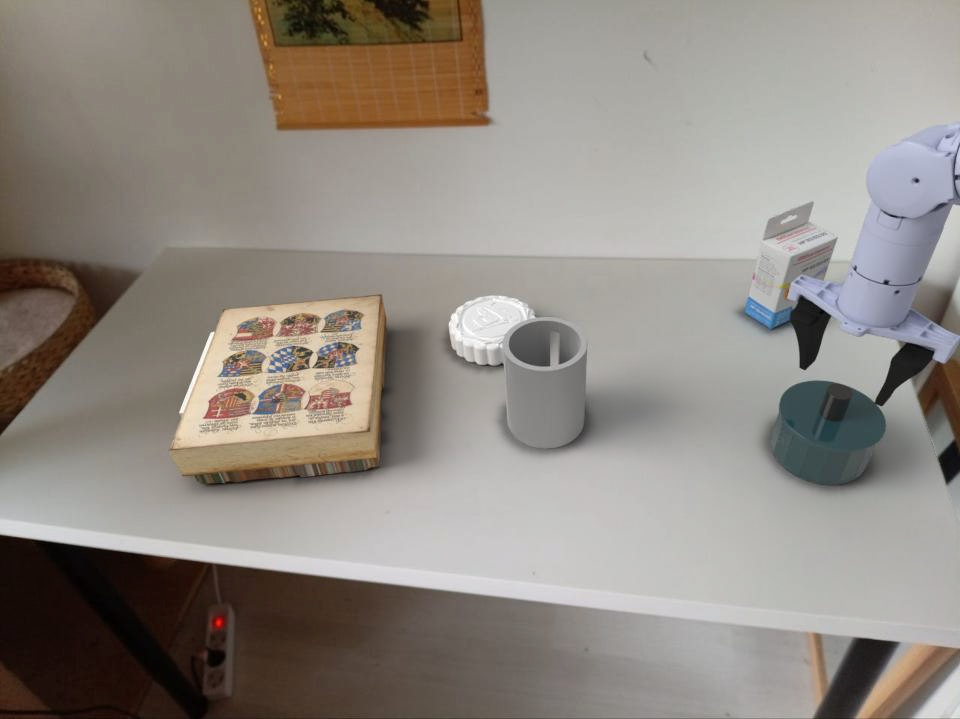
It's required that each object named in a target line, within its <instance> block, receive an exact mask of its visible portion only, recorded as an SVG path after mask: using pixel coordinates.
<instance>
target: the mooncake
mask: <svg viewBox="0 0 960 719" xmlns="http://www.w3.org/2000/svg"><path fill="white" fill-rule="evenodd" d="M535 314H536V313H535V310H534V309H533V308H531V307H530V306H529V305H528V303H526V302H524V301H520V299H518V298H516V297H509V296H507V295H493V294H492V295H485V296H478V297H476V298H475V299H474V300H468V301H466V302H465V303H463V305H460V306H458V307H457V308H456V309H455V312H453V313H452V314H451V315H450V321H449V322H448V332H449V337H450V340H449V341H450V343H451V348H452V350H454V351H456V354H457V356H458V357H459V358H464V359H465V360H466V361H467V362H468V363H476V364H477V365H479V366H486V365H489V366H492V367H497V366H499V365H501V364H503V365H504V360H503V339H504V336H505V334H506V333H507V332H508V330H509V329H510V328H512V327H513V326H515V325H516V324H518V323H520V322H523V321H525V320H528V319H532V318H537V316H536V315H535Z"/></svg>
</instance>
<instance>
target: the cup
mask: <svg viewBox="0 0 960 719" xmlns="http://www.w3.org/2000/svg"><path fill="white" fill-rule="evenodd" d="M551 332H553V333H558V356H557V357H558V359H557V360H558V363H557V365H551ZM587 359H588V339H587V336H586V334H585V333H584V331H583V330H582V329H581V328H580V327H579V326H578V325H576V324H574V323H573V322H571V321H569V320H566V319H562V318H560V317H553V316H552V317H551V316H540V317H536V318H532V319H528V320H525V321H523V322H520V323H518V324H516V325H515V326H513V327H512V328H510V329H509V330H508V332H507V333H506V334H505V336H504V339H503V360H504V364H503V373H504V388H505V405H506V419H507V420H506V421H507V427H508V430H509V431H510V433H511V435H512V436H513V437H514V438H515V439H516V440H518V441H519V442H520V443H522V444H523V445H526V446H528V447H532V448H537V449H545V450H548V449H556V448H560V447H564V446H566V445H568V444H570V443H571V442H573V441H574V440H575V439H576V438H578V437H579V436H580V434H581V433H582V431H583V429H584V425H585V410H586V385H587V364H588V363H587V362H588V360H587Z"/></svg>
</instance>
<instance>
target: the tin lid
mask: <svg viewBox="0 0 960 719" xmlns="http://www.w3.org/2000/svg"><path fill="white" fill-rule="evenodd" d="M778 414H780V417H781V419H782V421H783V423H784V424H785V426H786V427H787V428H788V429H789V430H790V431H791V432H792V433H793V434H794V435H795V436H797V437H798V438H799V439H801V440H802V441H804V442H806V443H808V444H810V445H812V446H814V447H817V448H820V449H823V450H826V451H831V452H837V453H857V452H862V451H865V450H868V449H870V448H872V447H874V446H875V445H876V446H877V445H878V444H879V443H880V442H881V441H882V439H883V438H884V436H885V433H886V431H887V420H886V418H885V414H884V413H883V410H881V408H880V406H879V405H877V404H875V401H874V400H872V399H871V398H870V397H869V396H868V395H866V394H864V393H863V392H861V391H859V390H857V389H855V388H853V387H851V386H849V385H846V384H844V383H839V382H835V381H829V380H819V379H818V380H817V379H816V380H814V379H813V380H807V381H801V382H799V383H796V384H794V385H792V386H790V387H789V388H787V389H785V391H784V392H783V393H782V395H781V397H780V399H779V403H778Z"/></svg>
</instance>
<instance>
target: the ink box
mask: <svg viewBox="0 0 960 719" xmlns="http://www.w3.org/2000/svg"><path fill="white" fill-rule="evenodd" d="M814 204H815V203H814V201H813V200H811V201H808V202H806V203H804V204H801V205H798V206H795V207H793V208H791V209H787V210H785V211H783V212H780V213H779V214H776V215H773V216H771V217H769V218H768V220H767V222H766V226H765V229H764V232H763V237H762V239H761V240H760V244H759V250H758V254H757V258H756V263H755V266H754V270H753V274H752V278H751V283H750V288H749V292H748V295H747V300H746V305H745V309H744V313H745V314H746V315H748V316H749V317H751V318H752V319H754V320H756V321H757V322H759V323H760V324H762V325H763V326H765V327H766V328H768V329H769V330H772V329H774V328H777V327H779V326H780V325H783V324H785V323H788V322H790V313H791V311H792V310H793V309H794V308H795V307H796V305H797V304H798V302H794V301H792V300H789V299H787V297H788V293H789V289H790V286H791V283H792V282H793V281H794V280H795V279H796V278H798V277H799V276H800V275H805V276H807V277H811V278H814V279H818V280H823V281H825V279H826V274H827V273H828V268H829V266H830V263H831V260H832V256H833V253H834V250H835V248H836V244H837V242H838V239H839V236H838V235H836V234H833V233H832V232H829V231H828V230H826V229H824V228H823V227H821V226H818V225H817V224H815V223H813V222H811V221H809V220H810V217H811V214H812V211H813V208H814ZM790 216H791V217H794V216H795V218H793V219H791V220H789V221H785V222H783V221H784V220H787V219H788V218H789V217H790ZM782 222H783V223H782Z"/></svg>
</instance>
